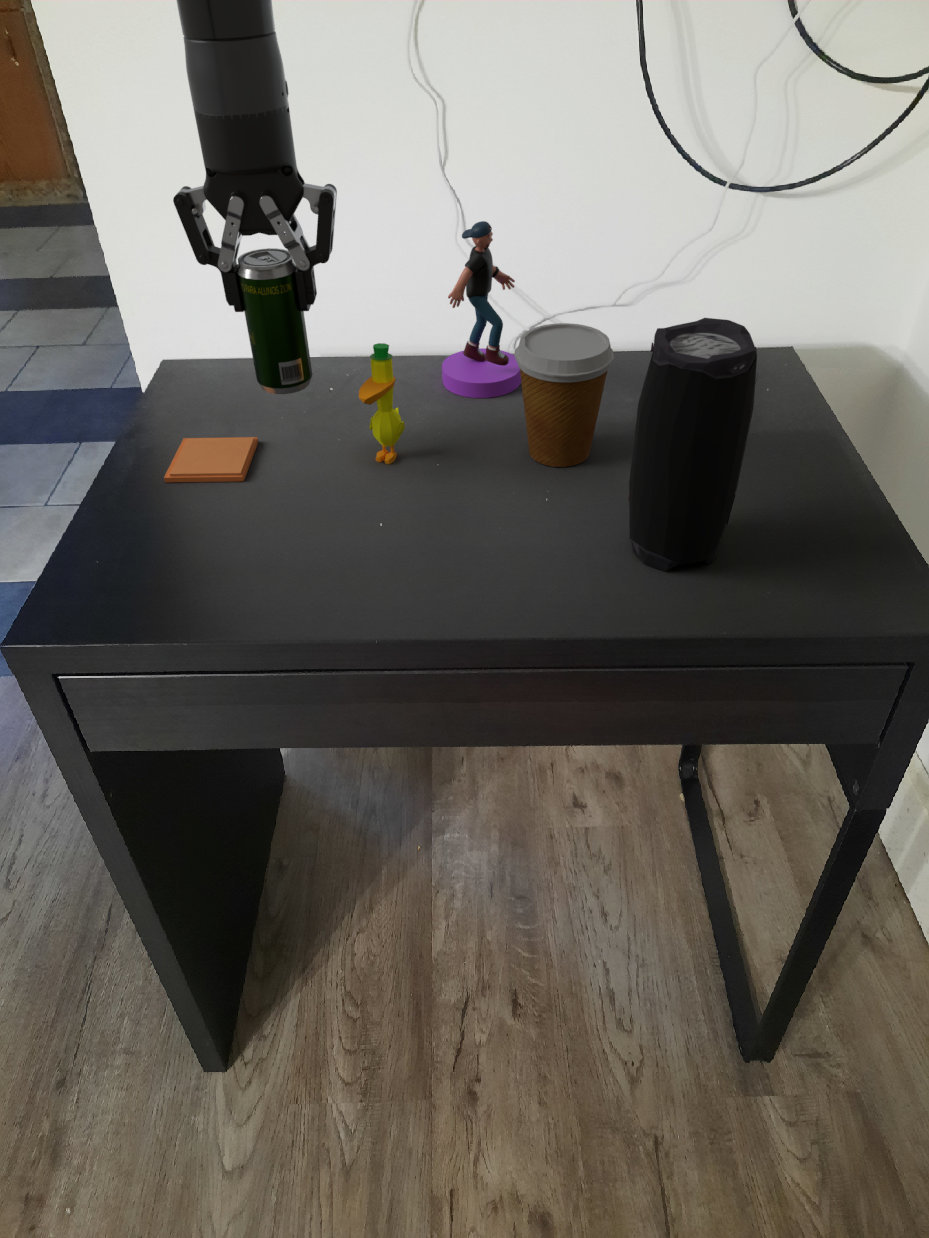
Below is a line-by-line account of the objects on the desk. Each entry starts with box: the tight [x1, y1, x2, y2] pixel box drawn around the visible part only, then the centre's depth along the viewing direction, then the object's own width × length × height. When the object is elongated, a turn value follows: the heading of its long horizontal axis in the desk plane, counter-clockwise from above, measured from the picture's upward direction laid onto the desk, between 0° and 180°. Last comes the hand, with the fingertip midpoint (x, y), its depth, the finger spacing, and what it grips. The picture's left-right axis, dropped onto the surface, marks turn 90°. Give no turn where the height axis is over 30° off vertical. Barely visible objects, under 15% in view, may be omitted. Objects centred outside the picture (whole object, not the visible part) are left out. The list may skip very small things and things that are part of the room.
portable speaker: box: [627, 317, 758, 572], centre depth 74 cm, size 9×9×20 cm
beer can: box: [237, 247, 313, 395], centre depth 84 cm, size 5×5×12 cm
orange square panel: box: [163, 436, 259, 483], centre depth 93 cm, size 8×8×1 cm
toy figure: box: [358, 342, 406, 465], centre depth 89 cm, size 7×4×12 cm, turn 156°
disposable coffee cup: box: [514, 322, 615, 468], centre depth 90 cm, size 10×10×12 cm
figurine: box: [441, 220, 521, 399], centre depth 101 cm, size 9×9×18 cm
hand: (273, 308), depth 83 cm, fingers closed on beer can, 5 cm apart
